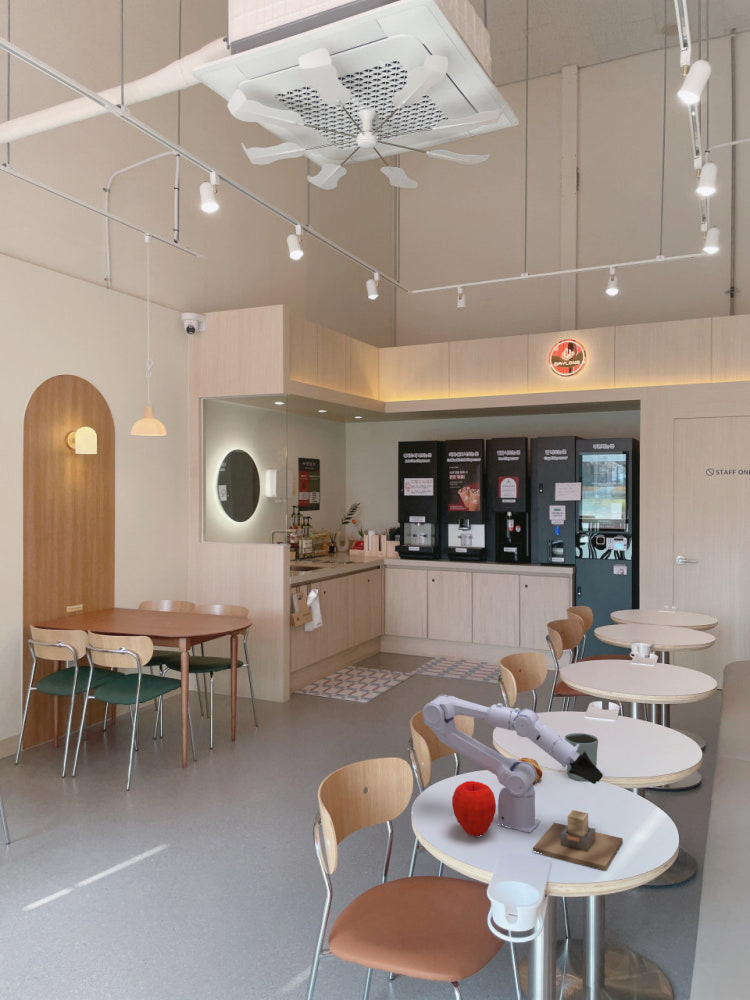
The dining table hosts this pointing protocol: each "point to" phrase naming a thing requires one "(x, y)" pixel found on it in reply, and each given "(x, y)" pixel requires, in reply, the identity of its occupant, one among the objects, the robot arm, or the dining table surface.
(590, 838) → the sleeve
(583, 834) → the post
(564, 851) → the board
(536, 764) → the croissant
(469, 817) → the apple
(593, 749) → the green cup
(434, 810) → the dining table surface
